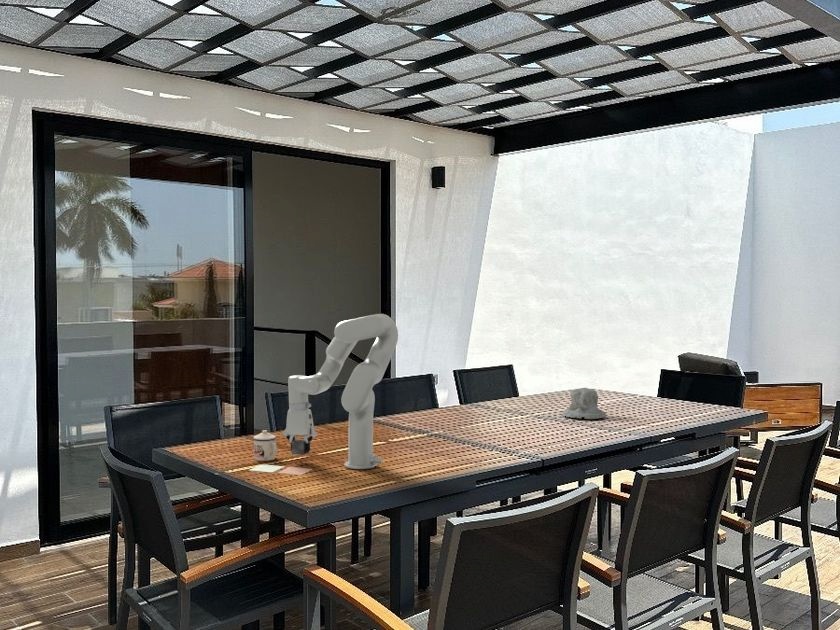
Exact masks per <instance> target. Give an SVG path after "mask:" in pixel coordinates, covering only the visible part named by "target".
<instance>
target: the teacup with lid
mask: <svg viewBox="0 0 840 630" xmlns="http://www.w3.org/2000/svg"><path fill="white" fill-rule="evenodd" d="M276 439H277V437H276V435H274V434H271V433H270V432H268V430H266V429H265V430H264V429H263V430H262V431H261V432H260V433H258V434H257V435H254V436H253V438H252V440H253V460H255V461H260V462H261V461H263V462H264V461H265V462H266V461H268V462H269V461H272V460H275V459H276V455H277V453H278V445H277V443H276Z"/></svg>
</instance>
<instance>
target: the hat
mask: <svg viewBox="0 0 840 630" xmlns="http://www.w3.org/2000/svg"><path fill="white" fill-rule="evenodd" d="M569 395H570V399H571V400H570V405H569V406H568V407H566V408H565V409H564V410H563V412H562V414H563V415H562V414H561V415H562V417H563V416H564V417H565V416H566V417H565V418H569V417H570V418H573V419H575V418H576V419H578V418H579V419H582V418H584V420H585V419H586V420H587V419H588V420H595V419H597V420H598V419H603V418H604V417H605V418H606V416H607V413H606V412H605V411H604V410H601V409H600V408H599V407H598V402H599V400H598V399H599V396H598V393H597V391H596V390H595V389H591V388H587V387H583V388H578V389H573V390H571V391H570V394H569Z"/></svg>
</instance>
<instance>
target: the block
mask: <svg viewBox="0 0 840 630" xmlns="http://www.w3.org/2000/svg"><path fill="white" fill-rule="evenodd" d="M304 443H305V439H304V438H303V439H302V438H298V439H297V438H296V439H295V440H294V441H292V450H291V455H298V456H299V455H302V456H303V455H307V453H305V449H304Z"/></svg>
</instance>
